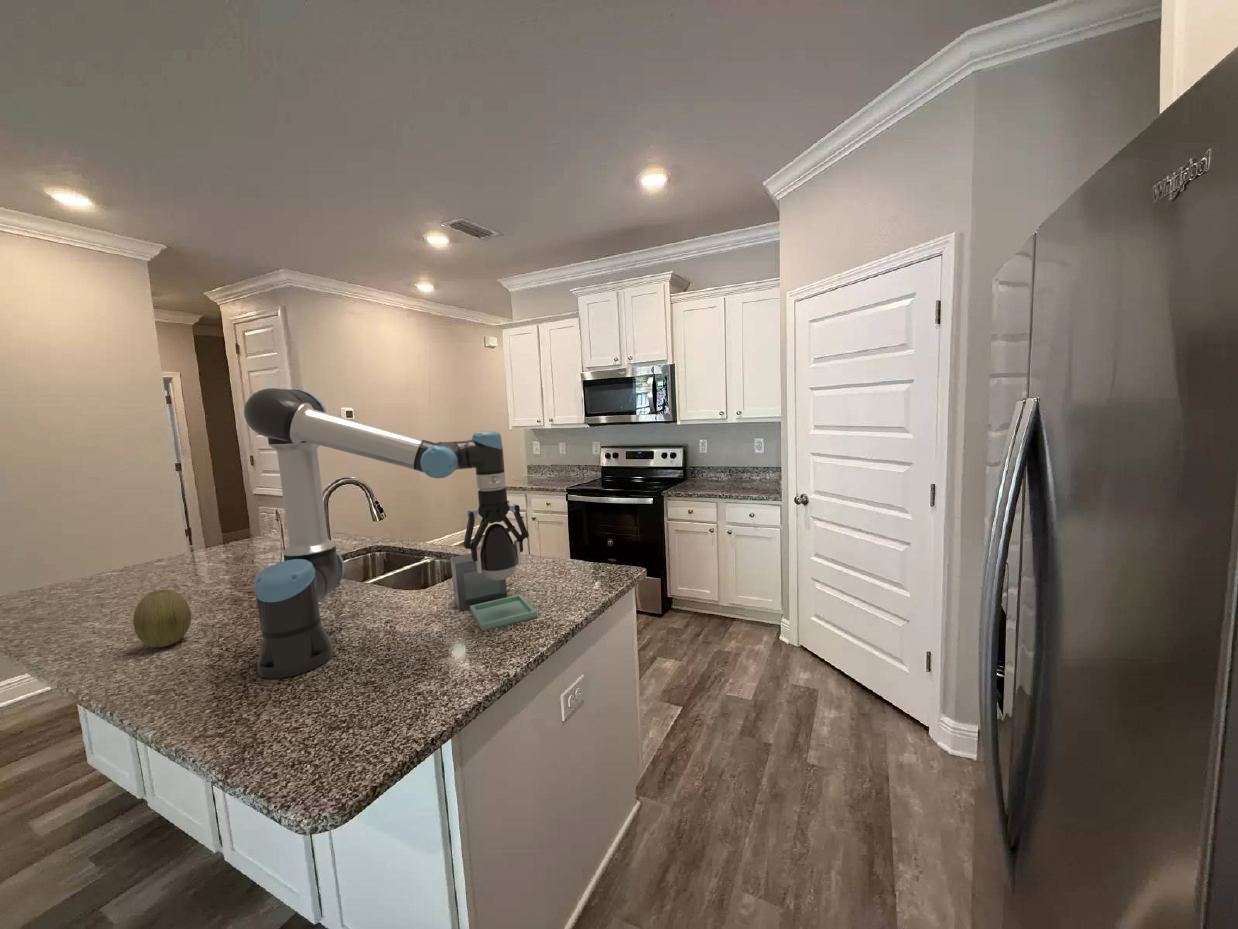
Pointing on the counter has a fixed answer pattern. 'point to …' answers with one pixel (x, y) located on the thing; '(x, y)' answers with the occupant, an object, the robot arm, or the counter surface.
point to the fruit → (162, 618)
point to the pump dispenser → (498, 553)
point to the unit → (473, 584)
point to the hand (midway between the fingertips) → (499, 567)
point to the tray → (502, 612)
